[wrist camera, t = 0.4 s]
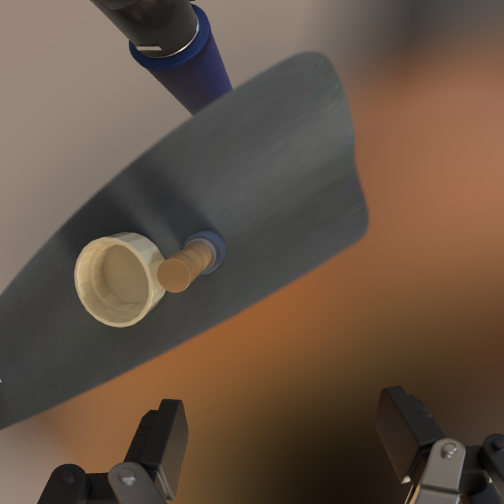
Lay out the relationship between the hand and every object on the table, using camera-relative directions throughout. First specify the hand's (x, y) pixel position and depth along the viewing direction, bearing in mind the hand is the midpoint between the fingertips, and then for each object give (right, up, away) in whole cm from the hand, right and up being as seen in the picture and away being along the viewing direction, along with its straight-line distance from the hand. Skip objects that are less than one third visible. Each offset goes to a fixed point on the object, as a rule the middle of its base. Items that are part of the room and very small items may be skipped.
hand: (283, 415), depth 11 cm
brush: (-7, +7, +27) cm, 29 cm away
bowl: (-17, +4, +28) cm, 33 cm away
